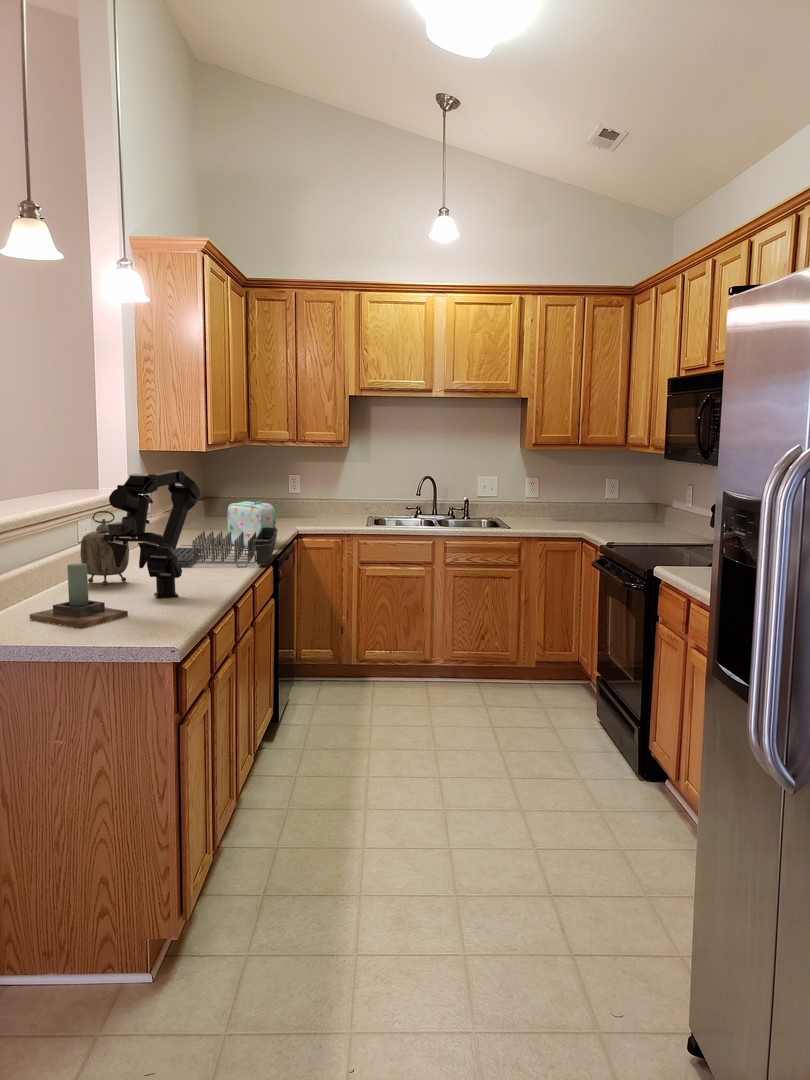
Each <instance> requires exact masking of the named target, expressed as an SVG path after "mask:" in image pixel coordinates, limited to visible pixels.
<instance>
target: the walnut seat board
mask: <svg viewBox="0 0 810 1080" xmlns="http://www.w3.org/2000/svg"><path fill="white" fill-rule="evenodd" d="M88 600H89V605H87V606H83V607H78V608H76V607H70V606H69V601H65V602H61V603H56V604H53V605H52V608H51V609H46V610H43V611H39V612H38V611H37V612H33V613H29V620H30V619H32V620H31V621H35V620H38V621H37V622H41V621H42V623H46V622H49V623H48V624H52V623H55V624H54V625H58V624H61V625H60V626H63V625H67V626H66V627H69V626H73V627H72V628H75V627H79V628H78V629H80V628H82V629H85V628H84V627H86V628H89V627H88V626H90V627H93V626H92V625H94V626H96V624H97V625H100V623H101V624H104V623H103V622H105V623H108V622H112V621H115V619H116V620H118V618H119V619H123V618H126V617H125V616H127V617H128V616H129V615H128V614H129V613H128V612H129V611H128V610H123V609H118V608H117V609H116V608H110V607H105V606H106V605H105V601H104V602H103V601H98V600H90V599H88ZM122 617H123V618H122ZM111 620H112V621H111ZM107 621H108V622H107Z"/></svg>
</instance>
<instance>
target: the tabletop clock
mask: <svg viewBox="0 0 810 1080" xmlns="http://www.w3.org/2000/svg"><path fill="white" fill-rule="evenodd" d="M103 513H105V514H110V515H111V516H112V519H111V520H106V519H105V518H102V520H101V521H100V520H97V519H95V516H97V514H98V515H99V514H103ZM91 518H92V520H93V522H95V523H98V524H99V525H98V526H97V527H96V529H95V531H94V530H93V531H90V532H88V533H86V534H84V535H83V536H82V538H81V541H80V553H79V554H80V563H84V564H87V575H90V577H89V578H88V584H92V583H93V582H94V576H102V577H103V581H102V585H104V586H107V585H108V584H109V581H107V576H115V575H118V576H119V577H120V579H121V581H120V582H122V583H124V582H126V581H127V578H126V577H125V576H123V575H122V573H124V572H125V571H126V569H128V565H129V561H130V546H129V542H127V543H126V544H123V545H126V546H127V549H126V552H125V555H124V558H123V561H122V563H121V566H120V567H116V564H115V559H114V554H113V551H112V548H111V547H110V546H109V545H108V544H106V541H103V539H104V534H106V533H107V532H109V531H108V524H111V523H113V521H114V520H115V518H116V517H115V515H114V513H113V512H111V511H109V510H99V511H96V512H95V513H94V514H93V515H92V517H91Z"/></svg>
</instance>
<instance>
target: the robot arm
mask: <svg viewBox="0 0 810 1080" xmlns="http://www.w3.org/2000/svg"><path fill="white" fill-rule="evenodd" d="M164 486H168V487H167V490H168V491H169V493H170V494H171V496H170V499H171V503H172V508H171V510H170V512H169V513H170V514H169V516H168V519H167V522H166V525H165V528H164V531H163V534H158V533H154V532H148V531H147V532H146V526H147V525H149V524H150V520H148V513H149V508H150V504H153V503H154V501H153V499H152V498H151V497H150V496H151V495H149V494H153V493H154V492H156V491H158V490H159V489H158V488H159V487H164ZM200 495H201V491H200V487H198V485H197V483H196V482H195V480H193V479H192V478H190V477H189V476H187V475H186V474H185V472H184V471H183V470H181V469H180V470H179V469H169V470H166V471H162V472H156V473H131V474H129V477H128V478H127V479H126V481H125V482H124V483H123V484H117V487H116V489H114V490H113V491H112V492H111V493H110V495H109V497H108V501H109V504H110V505H111V507H113V508H115V509H118V510H121V511H123V512H126V516H122V518H121V521H118V522H117V521H116V522H110V523H107V524H108V531H109V532H107V533H106V534H104V539H103V541H106V544H108V545H109V546H110V547H111V548H112V551H113V554H114V559H115V564H116V567H120V566H121V563H122V561H123V558H124V555H125V552H126V549H127V546H126V545H123V544H126V543H127V542H128V543H129V542H130V543H131V542H132V543H133V542H134V543H135V542H137V544H138V546H139V549H140V550H139V551H140V552H139V559H138V568H139V569H143V568H144V567H145V565H146V567H147V570H148V575H149V577H150V578H155V579H156V581H155V583H156V585H155V586H156V592H154V593H153V595H154V596H155V597H156V598H157V599H162V598H161V597H165V598H173V596H174V598H175V596H177V597H179V594H178V593H177V592H176V579H179V578H180V577H182V573H183V569H182V567H180V566H181V565H179V563H177V559H178V558H177V555H176V551H175V549H176V548H177V546H178V543H179V539H180V536H181V533H182V532H183V531H182V530H183V527H184V524H185V521H186V518H187V515H188V513H189V510H191V509H192V508H193V507H194V506H195V505H196V504H197V502H198V499H199V497H200Z"/></svg>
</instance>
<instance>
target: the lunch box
mask: <svg viewBox="0 0 810 1080" xmlns="http://www.w3.org/2000/svg"><path fill="white" fill-rule="evenodd" d="M226 513H227V515H226V517H227V519H226V521H227V524H226V525H227V527H226V528H227V534H228V533H229V532H230V531H231V541H232V546H234V541H235V540H236V538H238V536H240V534H242V531H243V536H244V549H248V540H249V541H250V538H251V537H252V536H253V534H254V532H256V537H257V536H258V534H259V532H260V531H261V529H262V527H270V528H276V529H278V527H277V516H276V515H277V513H276V509H275V507H274V506H273V504H270V503H269V502H261V501H260V500H259V501H248V500H246V501H245V500H244V501H241V502H240V501H239V502H233V503H230V504H229V505H228V507H227V512H226ZM277 537H278V535H277V536H276V538H275V545H277ZM231 541H230V544H231Z"/></svg>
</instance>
